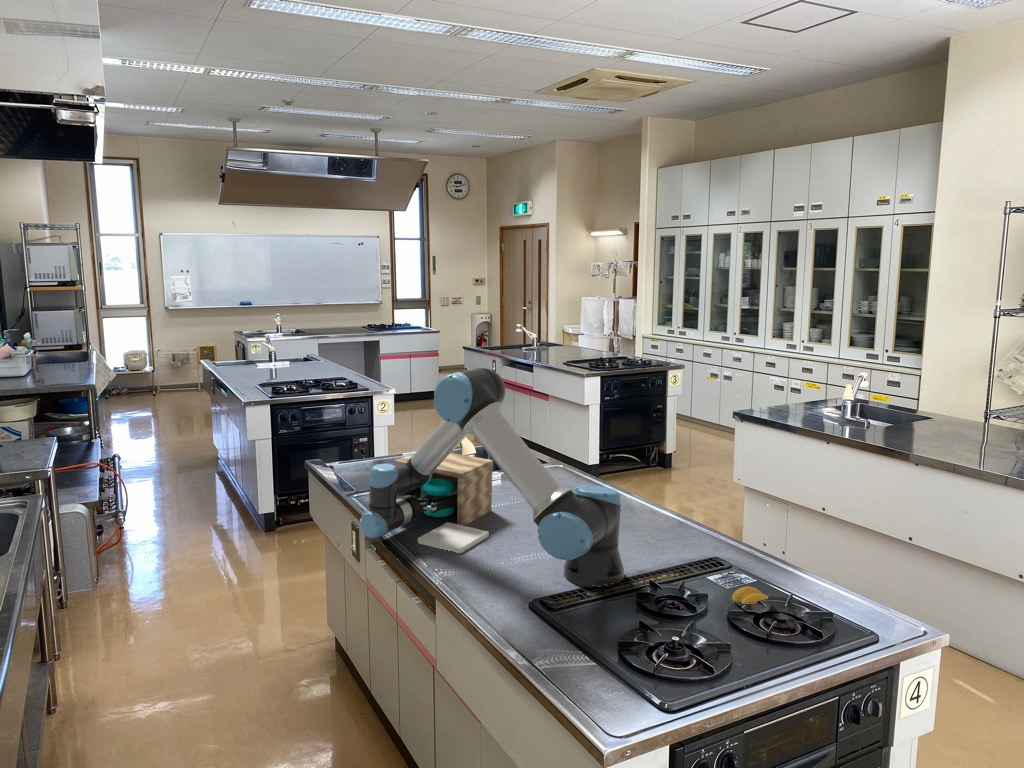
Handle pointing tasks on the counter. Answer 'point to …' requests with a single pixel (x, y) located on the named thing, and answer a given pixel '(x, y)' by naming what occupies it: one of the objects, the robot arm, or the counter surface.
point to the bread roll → (748, 595)
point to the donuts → (439, 494)
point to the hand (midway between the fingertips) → (446, 490)
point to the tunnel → (464, 484)
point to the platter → (453, 537)
